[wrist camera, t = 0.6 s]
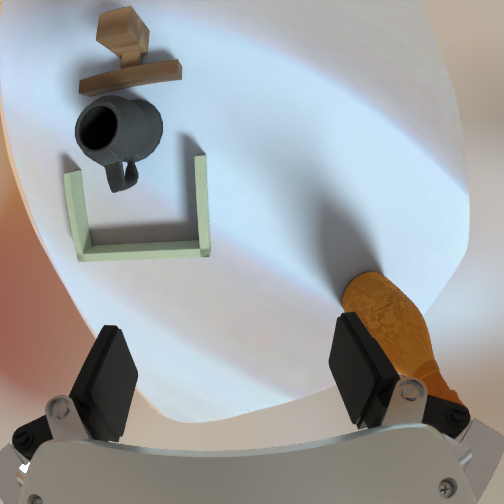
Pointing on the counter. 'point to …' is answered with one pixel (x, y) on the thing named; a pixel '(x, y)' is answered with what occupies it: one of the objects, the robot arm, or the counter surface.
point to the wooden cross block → (127, 55)
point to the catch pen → (137, 250)
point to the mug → (119, 136)
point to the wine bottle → (397, 330)
